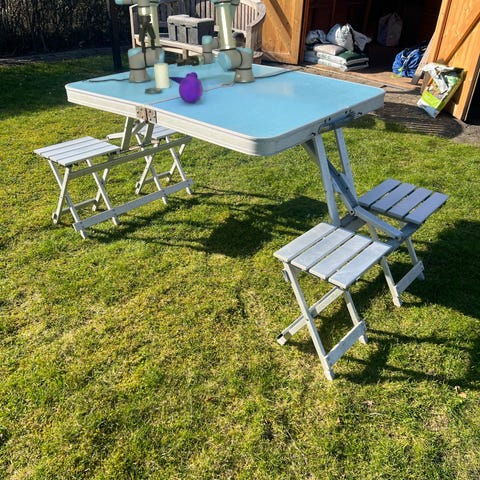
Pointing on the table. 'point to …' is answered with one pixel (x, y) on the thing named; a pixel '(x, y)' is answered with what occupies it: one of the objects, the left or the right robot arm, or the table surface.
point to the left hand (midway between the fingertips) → (148, 51)
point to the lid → (153, 90)
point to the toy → (189, 87)
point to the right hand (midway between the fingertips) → (172, 63)
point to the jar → (161, 75)
